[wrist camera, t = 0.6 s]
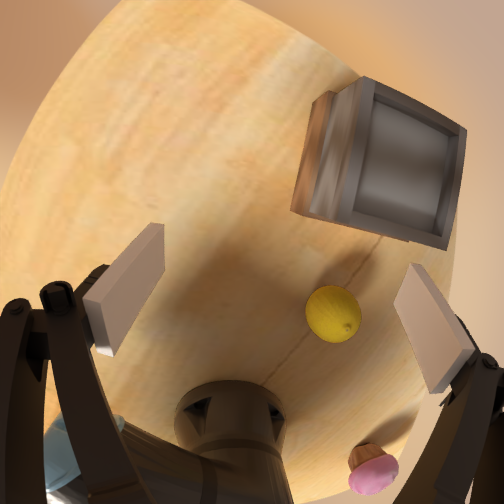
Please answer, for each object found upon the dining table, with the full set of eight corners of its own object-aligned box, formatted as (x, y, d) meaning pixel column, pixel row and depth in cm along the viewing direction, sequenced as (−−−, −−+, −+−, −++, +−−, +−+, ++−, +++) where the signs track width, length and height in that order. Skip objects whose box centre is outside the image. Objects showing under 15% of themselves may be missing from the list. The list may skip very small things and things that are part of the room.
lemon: (351, 288, 34) (383, 316, 26) (326, 327, 35) (351, 362, 27) (314, 267, 33) (341, 293, 25) (288, 309, 33) (307, 344, 26)
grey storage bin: (385, 233, 33) (448, 257, 21) (289, 210, 31) (327, 227, 20) (404, 137, 30) (470, 127, 19) (312, 102, 28) (358, 67, 17)
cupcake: (336, 468, 43) (352, 507, 33) (340, 442, 41) (359, 485, 31) (379, 454, 43) (398, 490, 34) (386, 428, 41) (411, 465, 32)
